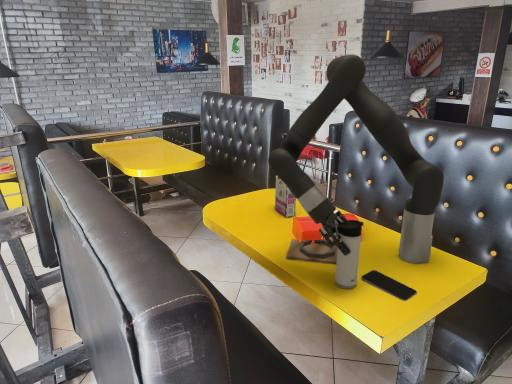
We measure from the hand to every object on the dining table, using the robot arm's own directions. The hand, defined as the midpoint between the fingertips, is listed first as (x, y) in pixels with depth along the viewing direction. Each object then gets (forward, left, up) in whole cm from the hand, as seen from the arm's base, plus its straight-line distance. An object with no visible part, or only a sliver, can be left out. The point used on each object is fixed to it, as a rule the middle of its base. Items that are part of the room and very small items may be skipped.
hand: (352, 247), depth 107 cm
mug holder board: (+11, -18, -12) cm, 24 cm away
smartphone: (-11, -2, -13) cm, 17 cm away
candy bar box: (+28, -53, -12) cm, 61 cm away
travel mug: (+1, 0, -12) cm, 12 cm away
